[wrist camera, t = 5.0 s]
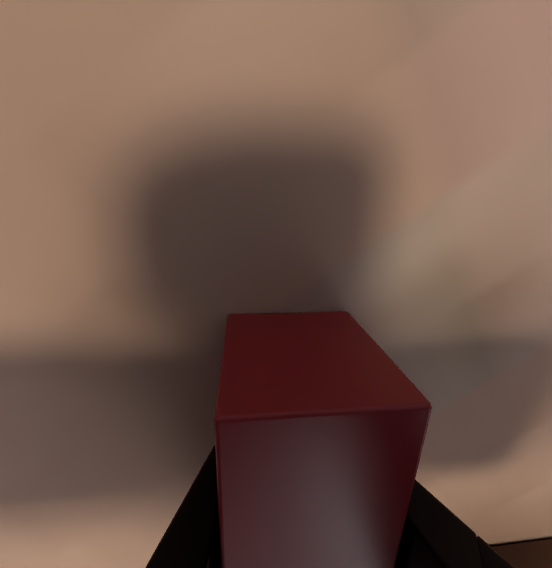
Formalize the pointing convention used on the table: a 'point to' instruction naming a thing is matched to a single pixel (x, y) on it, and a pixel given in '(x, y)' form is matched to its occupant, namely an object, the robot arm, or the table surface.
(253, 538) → the red rectangular block
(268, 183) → the table surface
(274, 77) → the table surface
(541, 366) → the table surface
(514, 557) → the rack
